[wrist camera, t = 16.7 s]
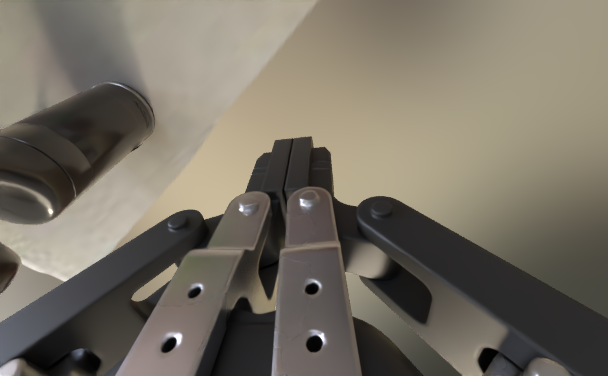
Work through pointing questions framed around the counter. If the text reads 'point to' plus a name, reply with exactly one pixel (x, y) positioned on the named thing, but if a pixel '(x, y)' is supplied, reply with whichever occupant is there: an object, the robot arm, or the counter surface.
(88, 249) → the counter surface
